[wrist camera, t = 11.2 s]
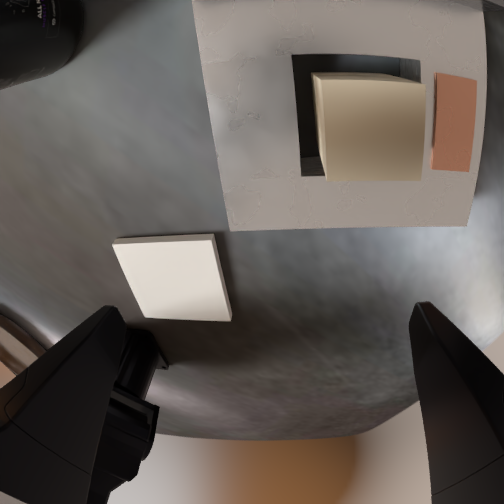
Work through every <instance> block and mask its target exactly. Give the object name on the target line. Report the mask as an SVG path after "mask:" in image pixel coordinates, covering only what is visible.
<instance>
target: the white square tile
mask: <svg viewBox="0 0 504 504" xmlns="http://www.w3.org/2000/svg"><path fill="white" fill-rule="evenodd" d="M112 246H113V248H114V251H115V253H116V255H117V258H118V260H119V262H120V265H121V267H122V269H123V272H124V274H125V276H126V278H127V281H128V283H129V285H130V287H131V289H132V291H133V293H134V296H135V298H136V300H137V302H138V304H139V306H140V308H141V310H142V312H143V314H144V316H145V317H148V318H163V319H181V320H204V321H231V318H232V311H231V307H230V302H229V298H228V294H227V290H226V285H225V281H224V277H223V272H222V268H221V264H220V259H219V255H218V250H217V246H216V241H215V237H214V234H194V235H173V236H154V237H135V238H118V239H116V240H115V241H114V242H113V244H112Z"/></svg>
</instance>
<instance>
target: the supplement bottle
mask: <svg viewBox="0 0 504 504" xmlns="http://www.w3.org/2000/svg"><path fill="white" fill-rule="evenodd" d="M83 21H84V15H83V7H82V4H81V1H80V0H0V90H2V89H5V88H8V87H11V86H14V85H17V84H21V83H24V82H27V81H31V80H34V79H38V78H41V77H45V76H48V75H50V74H52V73H54V72H55V71H57V70H58V69H59V68H61V67H62V66H63V65H64V64H65V63H66V61H67V60H68V59H69V58H70V56H71V55H72V53H73V52H74V50H75V48H76V46H77V44H78V42H79V39H80V36H81V33H82V28H83Z"/></svg>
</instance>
